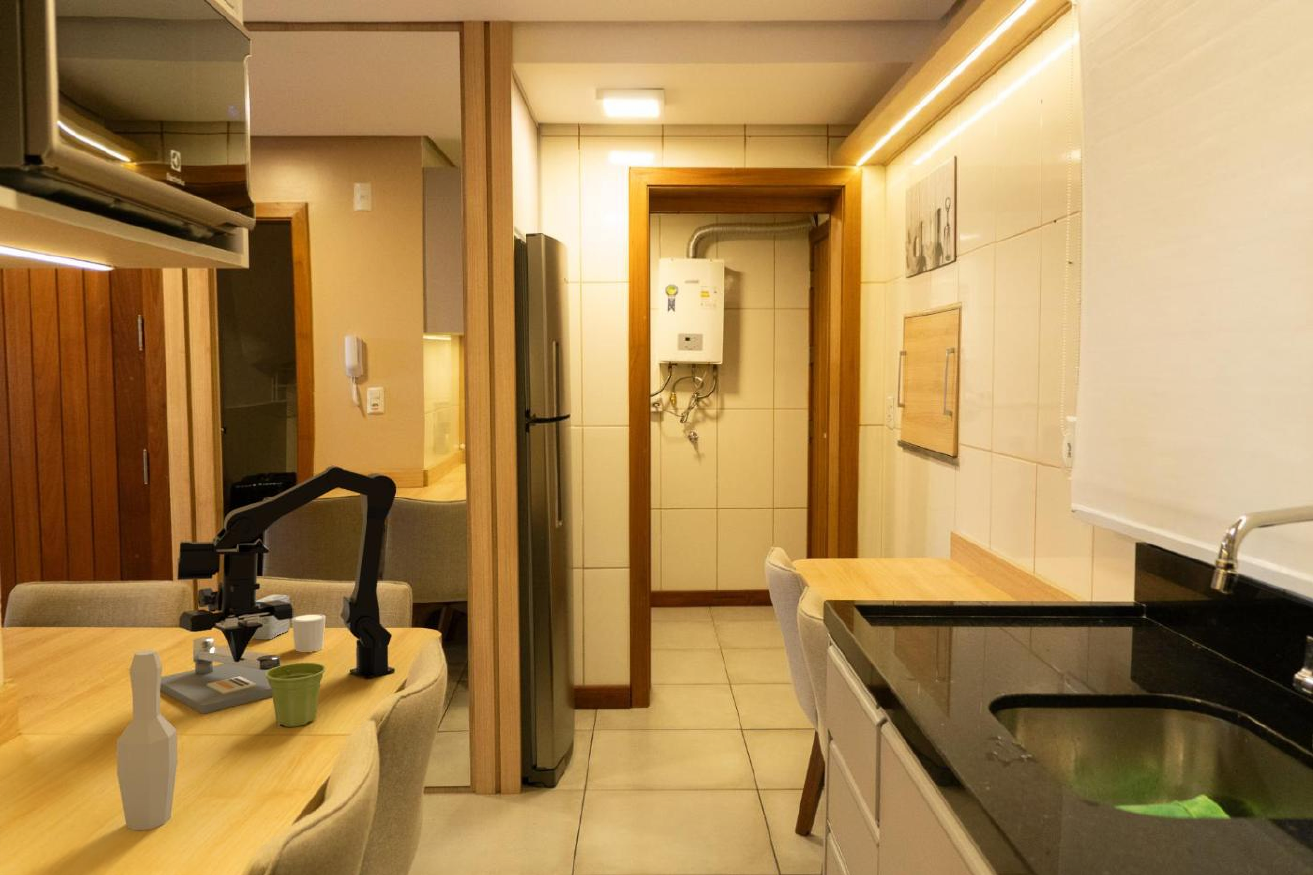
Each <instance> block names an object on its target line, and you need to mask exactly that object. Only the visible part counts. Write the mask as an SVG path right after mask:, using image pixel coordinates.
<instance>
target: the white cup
mask: <svg viewBox="0 0 1313 875" xmlns="http://www.w3.org/2000/svg"><path fill="white" fill-rule="evenodd" d="M291 625H292V634H293V642H294V650H296V651H299V652H310V653H312V652H311V651H316V650H319V649H322V648H323V649H324V640H325V628H326V627H325V626H326V615H325V614H320V613H319V614H317V613H312V614H311V613H310V614H302V615H296V616H293V618H292V619H291ZM323 649H322V650H323ZM296 651H295V652H296ZM319 651H320V650H319ZM299 652H298V653H299ZM316 652H317V651H316Z"/></svg>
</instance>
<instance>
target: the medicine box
mask: <svg viewBox="0 0 1313 875" xmlns="http://www.w3.org/2000/svg"><path fill="white" fill-rule="evenodd" d="M276 600H280V601H283V602H287V603H290V604H291V601H290V595H286V594H270V595H268V596H265V597H263V598H260V599H258V600H257V599H256V605H258V606H259V607H260V605H261V603H262V602H268V601H276ZM290 620H291V619H285V620H277V619H276V618H275V617H274V616H267V617H260V619H259V623H261V624H263V626H262V627H260V628H258V629H257V631H256V632H255V634H254V635H253V637H252V638H253V639H254V638H255V639H254V640H260V639H271V640H273V639H275V638H276V637H275V636H277V635H279V634H281V635H283V634H282V633H284V634H285V632H286V633H288V632H289V631H290V629H291V628H290V627H291V626H290V622H291V621H290ZM288 630H289V631H288ZM287 631H288V632H287ZM279 636H280V635H279ZM274 637H275V638H274ZM277 637H278V636H277ZM272 638H273V639H272Z"/></svg>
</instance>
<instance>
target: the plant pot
mask: <svg viewBox="0 0 1313 875" xmlns="http://www.w3.org/2000/svg"><path fill="white" fill-rule="evenodd" d="M325 672H326V666H325V665H323V664H321V663H317V662H297V663H296V662H295V663H288V664H283V665H282V666H278V667H275V668H272V669H270V670H268V671H267V672H266V673H265V677H266V678H268V682H269V685H270V686H271V691H272V703H273V709H274V714H275V719H276V721H275V722H276V724H277V725H278V726H281V725H283V726H284V727H287V728H292V727H302V726H304V725H306V724H308V723H309V722H314V721H315V720H316V717H317V712H318V711H317V709H318V700H319V694H320V686H321V681H322V679H323V674H324V673H325Z"/></svg>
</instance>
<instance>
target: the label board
mask: <svg viewBox="0 0 1313 875" xmlns="http://www.w3.org/2000/svg"><path fill="white" fill-rule="evenodd" d="M194 664H195V665H194V669H192V670H187V671H182V672H178V673H173V674H169V675H164V676H161V685H160V692H162V693H164V694H166V695H168V696H170V697H171V698H173V699H175V700H177V701H179V702H180V703H182V704H184V705H186V706H188V707H189V708H191V709H193V710H195V711H197V712H198V713H201V714H202V715H205V714H209V713H213V712H216V711H221V710H225V709H229V708H233V707H236V706H240V705H241V706H242V705H244V704H248V703H251V702H256V701H260V700H262V699H263V700H264V699H268V698H271V697H272V691H271V686H270V685H269V682H268V678H266V677H265V673H266V672H267V671H268V670H259V669H253V668H248V667H242V666H236V665H231V664H225V663H220V664H215V665H214V661H209V662H204V663H196V662H194ZM280 666H282V665H281V664H280ZM272 698H273V697H272Z"/></svg>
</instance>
